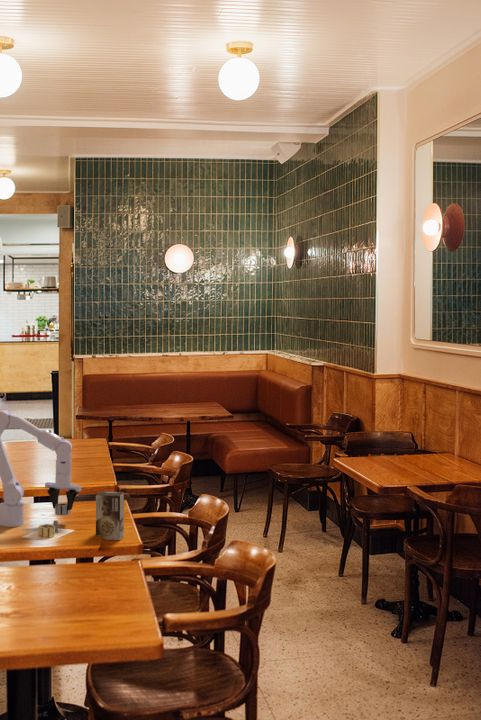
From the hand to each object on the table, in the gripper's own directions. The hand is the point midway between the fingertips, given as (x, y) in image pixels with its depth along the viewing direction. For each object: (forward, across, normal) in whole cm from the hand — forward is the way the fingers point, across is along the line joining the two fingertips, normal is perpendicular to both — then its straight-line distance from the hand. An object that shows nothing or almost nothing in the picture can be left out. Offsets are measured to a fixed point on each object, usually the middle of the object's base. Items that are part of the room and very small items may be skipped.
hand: (62, 508), depth 306 cm
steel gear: (+2, 0, 0) cm, 2 cm away
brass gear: (+6, -4, +17) cm, 18 cm away
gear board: (+7, -3, +14) cm, 16 cm away
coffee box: (+7, -23, +6) cm, 25 cm away
